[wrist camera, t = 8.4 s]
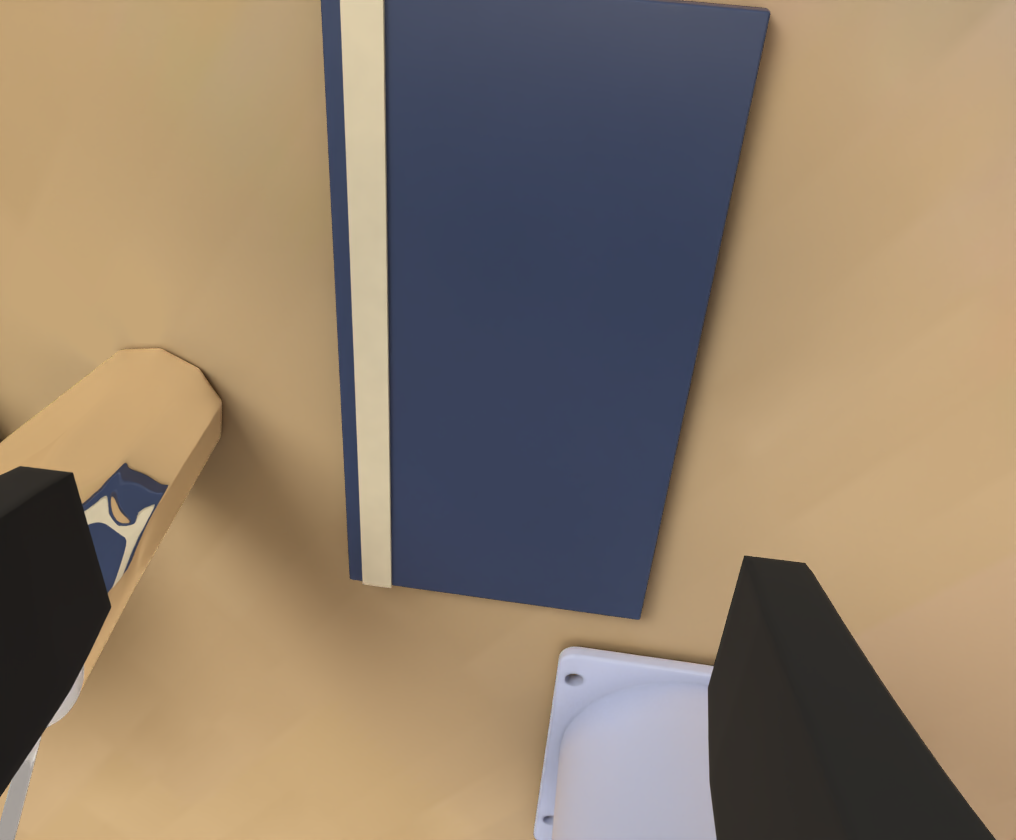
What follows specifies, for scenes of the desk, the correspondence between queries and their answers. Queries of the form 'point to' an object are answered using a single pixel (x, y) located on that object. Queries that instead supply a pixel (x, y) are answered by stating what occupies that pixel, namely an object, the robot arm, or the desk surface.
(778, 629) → the robot arm
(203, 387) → the milkshake
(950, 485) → the desk surface
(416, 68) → the blue notebook
